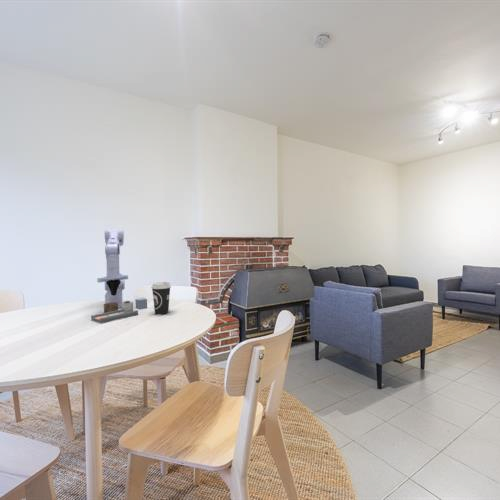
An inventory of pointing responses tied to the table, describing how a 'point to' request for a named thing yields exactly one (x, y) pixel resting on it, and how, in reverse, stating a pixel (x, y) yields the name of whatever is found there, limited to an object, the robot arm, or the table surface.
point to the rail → (112, 316)
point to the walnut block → (110, 307)
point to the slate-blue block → (141, 303)
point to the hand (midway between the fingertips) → (113, 295)
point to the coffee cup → (161, 297)
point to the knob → (126, 306)
